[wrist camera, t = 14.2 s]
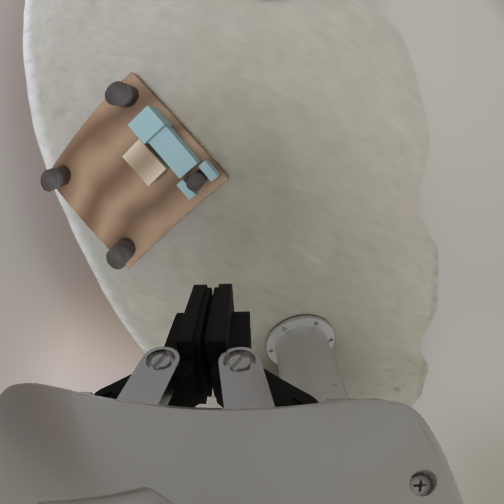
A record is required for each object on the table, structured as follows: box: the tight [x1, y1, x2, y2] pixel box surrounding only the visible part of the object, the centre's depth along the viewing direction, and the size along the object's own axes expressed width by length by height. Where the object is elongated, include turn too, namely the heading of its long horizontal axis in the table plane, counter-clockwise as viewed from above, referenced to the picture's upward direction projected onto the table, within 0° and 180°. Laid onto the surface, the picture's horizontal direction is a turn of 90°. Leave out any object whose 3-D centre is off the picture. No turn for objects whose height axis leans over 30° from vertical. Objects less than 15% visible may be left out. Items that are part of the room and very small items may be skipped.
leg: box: [128, 106, 220, 200], centre depth 30 cm, size 12×4×4 cm, turn 38°
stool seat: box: [41, 72, 229, 269], centre depth 31 cm, size 20×20×7 cm
